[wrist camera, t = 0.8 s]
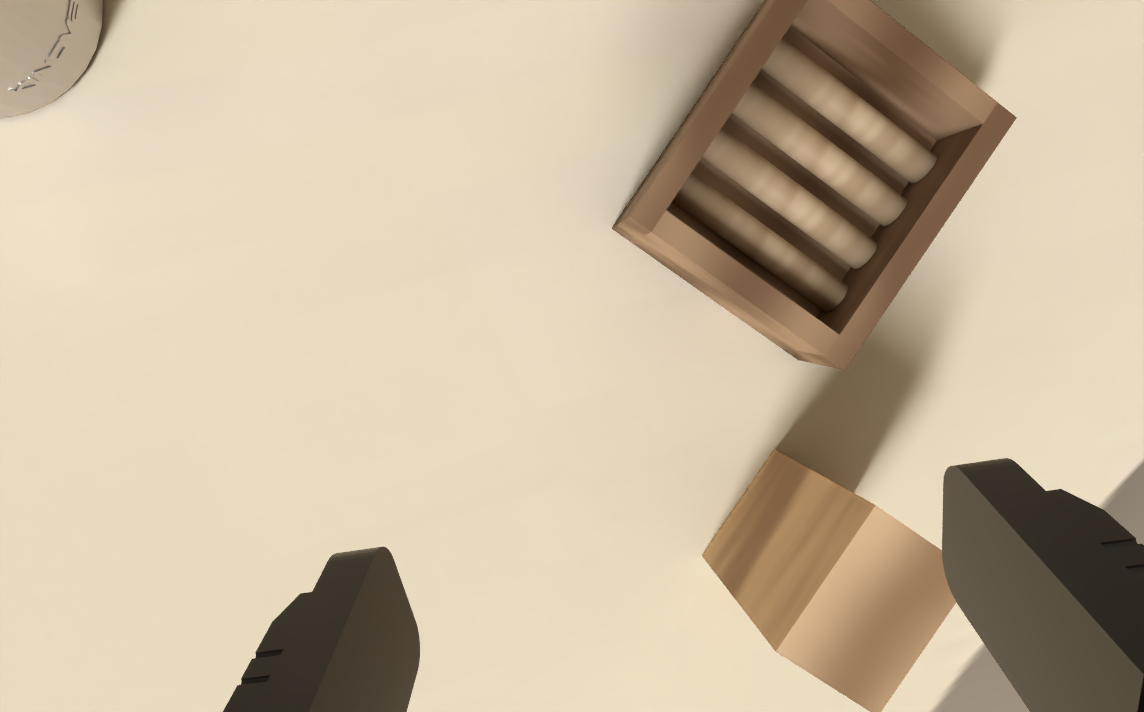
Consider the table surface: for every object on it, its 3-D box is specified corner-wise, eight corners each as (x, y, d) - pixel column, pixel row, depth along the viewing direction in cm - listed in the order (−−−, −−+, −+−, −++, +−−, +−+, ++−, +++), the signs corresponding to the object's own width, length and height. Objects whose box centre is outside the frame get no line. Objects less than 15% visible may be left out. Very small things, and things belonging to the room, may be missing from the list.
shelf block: (701, 555, 33) (776, 651, 24) (774, 449, 33) (875, 505, 24) (777, 604, 34) (877, 716, 25) (849, 500, 33) (975, 573, 24)
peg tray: (611, 228, 31) (629, 216, 27) (764, 1, 31) (808, -49, 27) (798, 359, 33) (845, 369, 28) (945, 142, 32) (1016, 117, 28)
